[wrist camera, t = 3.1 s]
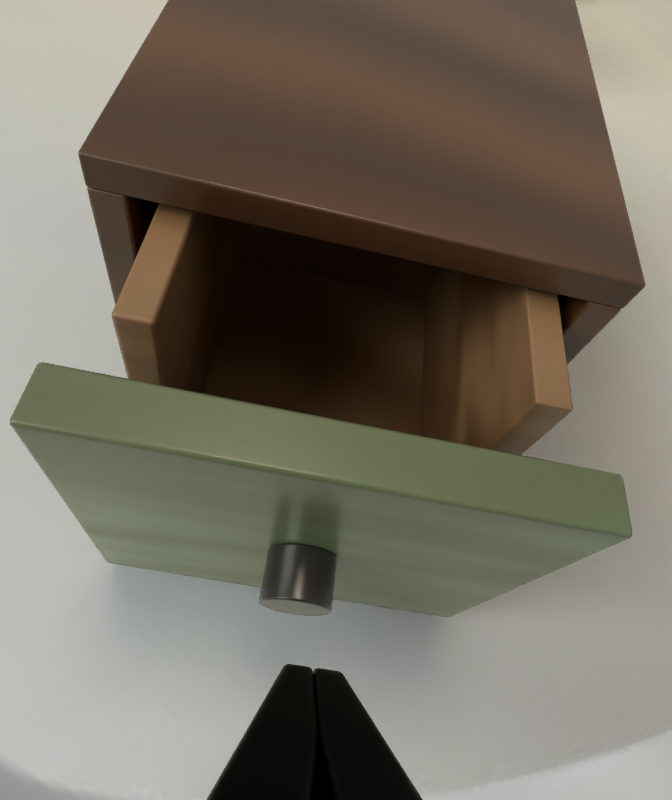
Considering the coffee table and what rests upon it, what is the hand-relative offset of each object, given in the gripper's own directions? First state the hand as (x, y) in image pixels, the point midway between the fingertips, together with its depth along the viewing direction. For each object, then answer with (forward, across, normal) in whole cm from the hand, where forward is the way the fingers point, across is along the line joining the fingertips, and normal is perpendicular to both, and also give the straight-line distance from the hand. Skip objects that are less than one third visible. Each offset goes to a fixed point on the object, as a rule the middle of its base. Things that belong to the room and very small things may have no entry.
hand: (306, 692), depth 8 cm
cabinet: (+17, 0, -4) cm, 17 cm away
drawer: (+12, 0, 0) cm, 12 cm away
